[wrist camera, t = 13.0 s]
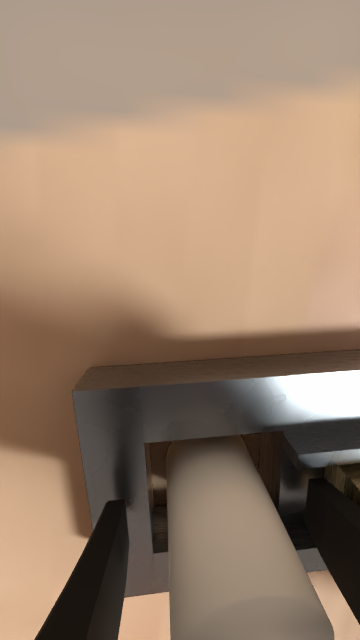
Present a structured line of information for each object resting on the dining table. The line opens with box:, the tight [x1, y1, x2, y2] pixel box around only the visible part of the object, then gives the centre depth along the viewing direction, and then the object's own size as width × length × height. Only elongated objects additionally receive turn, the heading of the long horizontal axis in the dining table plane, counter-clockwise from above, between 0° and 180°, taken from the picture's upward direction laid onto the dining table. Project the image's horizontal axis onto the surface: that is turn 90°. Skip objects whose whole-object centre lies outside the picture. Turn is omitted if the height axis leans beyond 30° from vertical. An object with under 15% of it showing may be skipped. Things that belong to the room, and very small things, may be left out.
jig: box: [72, 350, 360, 598], centre depth 10 cm, size 14×10×3 cm
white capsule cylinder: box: [166, 435, 334, 640], centre depth 8 cm, size 4×4×6 cm
